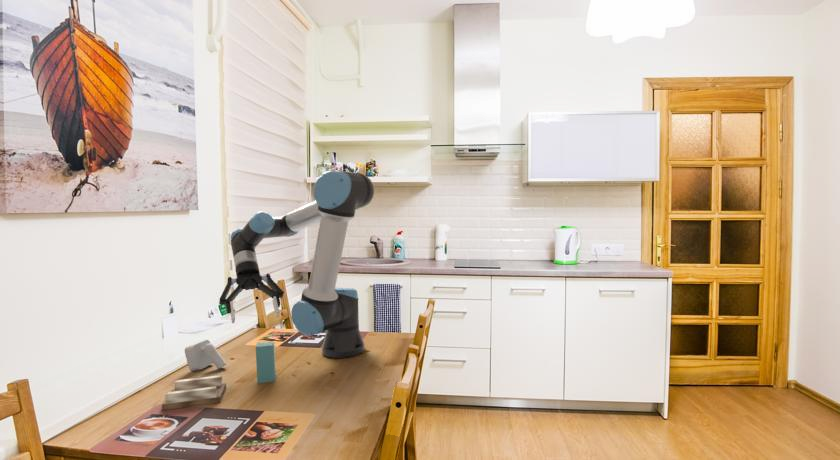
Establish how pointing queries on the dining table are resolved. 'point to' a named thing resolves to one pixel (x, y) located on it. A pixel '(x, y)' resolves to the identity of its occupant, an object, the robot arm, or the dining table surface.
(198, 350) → the wall hook
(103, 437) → the dining table surface
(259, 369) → the teal upright prism
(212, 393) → the display stand
